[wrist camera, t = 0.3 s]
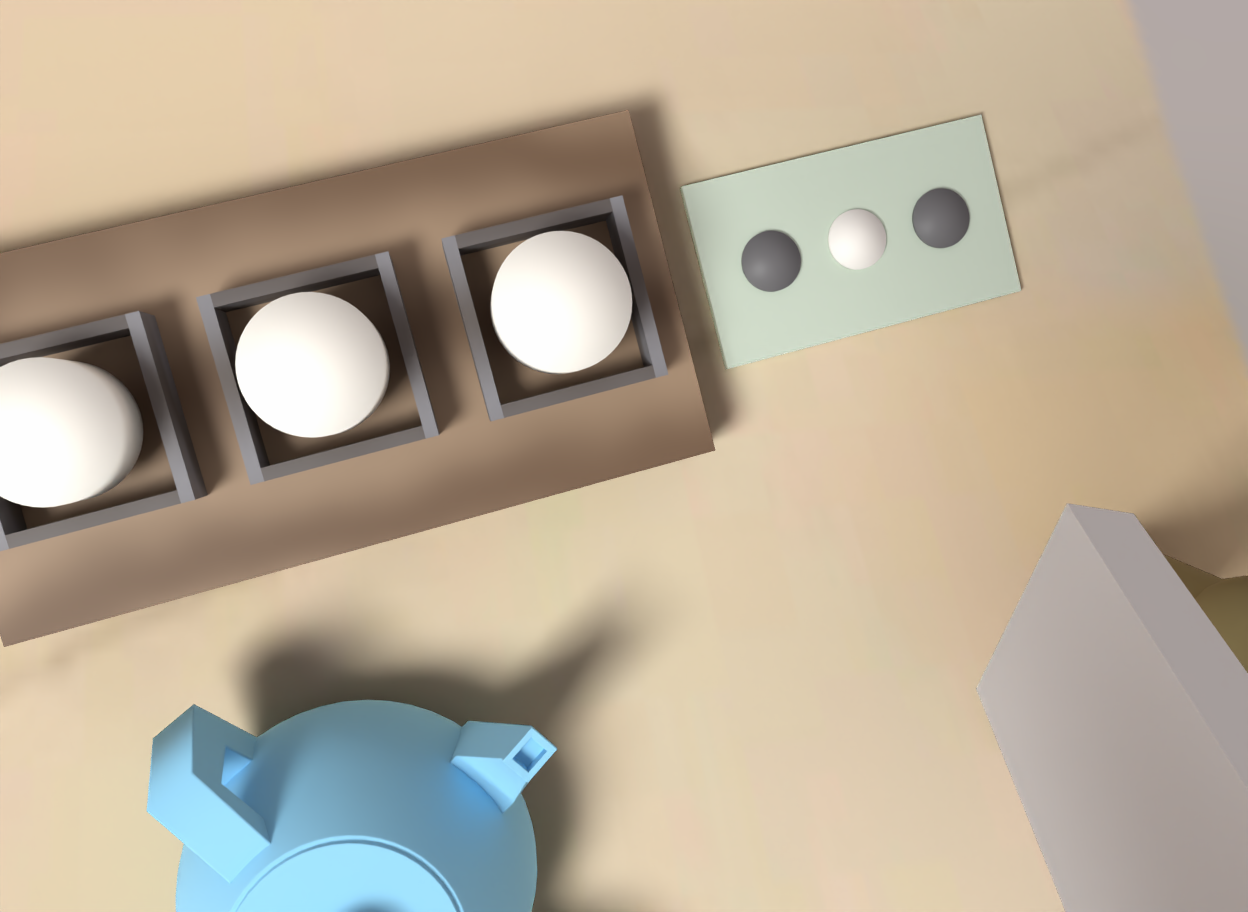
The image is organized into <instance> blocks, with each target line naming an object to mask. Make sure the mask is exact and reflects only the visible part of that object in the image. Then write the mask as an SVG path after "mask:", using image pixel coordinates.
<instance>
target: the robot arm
mask: <svg viewBox="0 0 1248 912" xmlns="http://www.w3.org/2000/svg"><path fill="white" fill-rule="evenodd" d="M976 690H977V692H978V695H979V697H980V700H981V702H982V705H983V707H984V710H985V712H986V715H987V717H988V720H989V722H990V725H991V727H992V730H993V732H994V735H995V737H996V740H997V742H998V745H999V747H1000V750H1001V752H1002V755H1003V757H1004V760H1005V762H1006V765H1007V767H1008V770H1009V772H1010V775H1011V777H1012V780H1013V782H1014V785H1015V787H1016V790H1017V792H1018V794H1019V797H1020V799H1021V802H1022V804H1023V807H1024V809H1025V812H1026V814H1027V817H1028V819H1029V822H1030V824H1031V827H1032V829H1033V832H1034V834H1035V837H1036V839H1037V842H1038V844H1039V847H1040V849H1041V852H1042V854H1043V857H1044V859H1045V862H1046V864H1047V867H1048V869H1049V872H1050V874H1051V877H1052V879H1053V882H1054V884H1055V887H1056V889H1057V892H1058V894H1059V897H1060V899H1061V902H1062V904H1063V907H1064V909H1065V912H1248V673H1247V672H1246V670H1245V669H1244V667H1243V666H1242V665H1241V663H1240V662H1239V660H1238V659H1237V658H1236V656H1235V655H1234V653H1233V652H1232V651H1231V649H1230V648H1229V646H1228V645H1227V644H1226V642H1225V641H1224V639H1223V638H1222V637H1221V635H1220V634H1219V632H1218V631H1217V630H1216V628H1215V627H1214V625H1213V624H1212V623H1211V621H1210V620H1209V618H1208V617H1207V616H1206V614H1205V613H1204V611H1203V610H1202V609H1201V607H1200V606H1199V604H1198V603H1197V602H1196V600H1195V599H1194V597H1193V596H1192V595H1191V593H1190V592H1189V590H1188V589H1187V588H1186V586H1185V585H1184V583H1183V582H1182V581H1181V579H1180V578H1179V576H1178V575H1177V574H1176V572H1175V571H1174V569H1173V568H1172V567H1171V565H1170V564H1169V562H1168V561H1167V560H1166V558H1165V557H1164V555H1163V554H1162V553H1161V551H1160V550H1159V548H1158V547H1157V546H1156V544H1155V543H1154V541H1153V540H1152V539H1151V537H1150V536H1149V534H1148V533H1147V532H1146V530H1145V529H1144V527H1143V526H1142V525H1141V523H1140V522H1139V520H1138V519H1137V518H1136V516H1135V515H1134V514H1132V513H1126V512H1120V511H1113V510H1107V509H1100V508H1094V507H1087V506H1081V505H1074V504H1068V503H1067V504H1066V506H1065V508H1064V510H1063V512H1062V514H1061V516H1060V519H1059V521H1058V523H1057V525H1056V527H1055V529H1054V531H1053V533H1052V535H1051V537H1050V539H1049V541H1048V543H1047V545H1046V547H1045V549H1044V551H1043V553H1042V555H1041V557H1040V559H1039V561H1038V563H1037V565H1036V567H1035V569H1034V572H1033V574H1032V576H1031V578H1030V580H1029V582H1028V584H1027V586H1026V588H1025V590H1024V592H1023V594H1022V596H1021V598H1020V600H1019V602H1018V604H1017V606H1016V608H1015V610H1014V612H1013V614H1012V616H1011V618H1010V620H1009V622H1008V625H1007V627H1006V629H1005V631H1004V633H1003V635H1002V637H1001V639H1000V641H999V643H998V645H997V647H996V649H995V651H994V653H993V655H992V657H991V659H990V661H989V663H988V665H987V667H986V669H985V671H984V673H983V675H982V678H981V680H980V682H979V684H978V686H977V688H976Z"/></svg>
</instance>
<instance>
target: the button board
mask: <svg viewBox="0 0 1248 912" xmlns="http://www.w3.org/2000/svg"><path fill="white" fill-rule="evenodd" d="M552 231H570V232H575V233H580V234H583V235H586V236H588V237H591V238H593V239H594V240H596V241H598V242H600V243H601V244H602V245H604V246H605V247H606V248H607V249H608V250H610V251H611V252H612V253H613V254H614V256H615V257H616V258H617V259H618V261H619V262H620V264H621V265H622V267H623V269H624V271H625V273H626V275H627V277H628V280H629V283H630V288H631V293H632V313H631V318H630V322H629V325H628V328H627V330H626V333H625V335H624V337H623V338H622V340H621V341H620V343H619V344H618V346H617V347H616V348H615V349H614V350H613V351H612V352H611V353H610V354H609V355H608V356H607V357H606V358H604V359H603V360H601V361H600V362H598V363H597V364H595V365H593V366H591V367H588V368H585V369H582V370H579V371H576V372H573V373H567V374H547V373H542V372H538V371H535V370H532V369H530V368H528V367H526V366H524V365H522V364H521V363H519V362H518V361H517V360H515V359H514V358H513V357H512V356H511V355H510V354H509V353H508V352H507V351H506V350H505V349H504V347H503V346H502V344H501V343H500V341H499V339H498V337H497V335H496V333H495V331H494V328H493V325H492V320H491V313H490V301H491V294H492V289H493V286H494V282H495V279H496V276H497V273H498V271H499V269H500V267H501V265H502V264H503V262H504V261H505V259H506V258H507V256H508V255H509V254H510V253H511V252H512V251H513V250H514V249H515V248H516V247H517V246H519V245H520V244H521V243H523V242H524V241H526V240H527V239H530V238H532V237H534V236H536V235H539V234H542V233H546V232H552ZM300 292H317V293H324V294H328V295H332V296H335V297H338V298H340V299H342V300H344V301H346V302H348V303H350V304H351V305H353V306H354V307H356V308H357V309H358V310H359V311H360V312H361V313H363V314H364V315H365V316H366V317H367V318H368V319H369V320H370V321H371V323H372V324H373V325H374V326H375V327H376V329H377V330H378V332H379V333H380V334H381V336H382V338H383V340H384V342H385V345H386V348H387V351H388V356H389V362H390V376H389V382H388V386H387V389H386V392H385V395H384V397H383V399H382V401H381V403H380V404H379V406H378V407H377V409H376V410H375V411H374V412H373V413H372V414H371V416H370V417H368V418H367V419H366V420H365V421H364V422H362V423H361V424H359V425H358V426H356V427H354V428H352V429H350V430H348V431H345V432H342V433H339V434H334V435H329V436H324V437H312V438H311V437H300V436H295V435H291V434H288V433H284V432H282V431H280V430H278V429H276V428H274V427H272V426H271V425H269V424H267V423H266V422H265V421H263V420H262V419H261V418H260V417H259V416H258V415H257V414H256V413H255V412H254V411H253V410H252V409H251V407H250V406H249V405H248V403H247V402H246V400H245V398H244V396H243V394H242V392H241V390H240V387H239V384H238V380H237V376H236V366H235V361H236V351H237V346H238V343H239V340H240V337H241V335H242V333H243V331H244V329H245V327H246V326H247V324H248V323H249V321H250V320H251V319H252V318H253V316H254V315H255V314H256V313H257V312H258V311H259V310H261V309H262V308H263V307H264V306H266V305H267V304H269V303H270V302H272V301H274V300H276V299H278V298H280V297H283V296H286V295H290V294H294V293H300ZM36 357H44V358H55V359H63V360H71V361H78V362H83V363H88V364H91V365H94V366H97V367H99V368H101V369H103V370H105V371H107V372H109V373H110V374H112V375H113V376H115V377H116V378H117V379H118V380H119V381H121V382H122V383H123V384H124V386H125V387H126V388H127V389H128V390H129V392H130V393H131V394H132V396H133V397H134V399H135V401H136V403H137V405H138V408H139V410H140V413H141V417H142V422H143V442H142V447H141V451H140V454H139V457H138V459H137V461H136V463H135V465H134V467H133V468H132V470H131V471H130V472H129V474H128V475H127V476H126V477H125V478H124V479H123V480H122V481H121V482H120V483H119V484H118V485H116V486H115V487H114V488H112V489H111V490H109V491H107V492H105V493H103V494H101V495H99V496H96V497H93V498H90V499H86V500H82V501H78V502H73V503H69V504H65V505H60V506H55V507H31V506H25V505H21V504H17V503H14V502H11V501H9V500H7V499H5V498H3V497H1V496H0V636H1V639H2V642H3V645H4V647H6V646H9V645H13V644H17V643H20V642H24V641H27V640H31V639H35V638H38V637H42V636H45V635H49V634H53V633H56V632H60V631H64V630H67V629H71V628H74V627H78V626H82V625H85V624H89V623H92V622H96V621H100V620H103V619H107V618H111V617H114V616H118V615H121V614H125V613H129V612H132V611H136V610H140V609H143V608H147V607H150V606H154V605H158V604H161V603H165V602H168V601H172V600H176V599H179V598H183V597H187V596H190V595H194V594H197V593H201V592H205V591H208V590H212V589H215V588H219V587H223V586H226V585H230V584H234V583H237V582H241V581H244V580H248V579H252V578H255V577H259V576H262V575H266V574H270V573H273V572H277V571H281V570H284V569H288V568H291V567H295V566H299V565H302V564H306V563H310V562H313V561H317V560H320V559H324V558H328V557H331V556H335V555H338V554H342V553H346V552H349V551H353V550H357V549H360V548H364V547H367V546H371V545H375V544H378V543H382V542H385V541H389V540H393V539H396V538H400V537H404V536H407V535H411V534H414V533H418V532H422V531H425V530H429V529H432V528H436V527H440V526H443V525H447V524H451V523H454V522H458V521H461V520H465V519H469V518H472V517H476V516H480V515H483V514H487V513H490V512H494V511H498V510H501V509H505V508H508V507H512V506H516V505H519V504H523V503H527V502H530V501H534V500H537V499H541V498H545V497H548V496H552V495H555V494H559V493H563V492H566V491H570V490H574V489H577V488H581V487H584V486H588V485H592V484H595V483H599V482H602V481H606V480H610V479H613V478H617V477H621V476H624V475H628V474H631V473H635V472H639V471H642V470H646V469H650V468H653V467H657V466H660V465H664V464H668V463H671V462H675V461H678V460H682V459H686V458H689V457H693V456H697V455H700V454H704V453H707V452H711V451H715V447H714V443H713V439H712V435H711V431H710V427H709V424H708V420H707V416H706V412H705V408H704V404H703V400H702V396H701V392H700V388H699V384H698V380H697V376H696V372H695V369H694V365H693V361H692V357H691V353H690V349H689V345H688V341H687V337H686V333H685V329H684V325H683V321H682V318H681V314H680V310H679V306H678V302H677V298H676V294H675V290H674V286H673V282H672V278H671V274H670V270H669V267H668V263H667V259H666V255H665V251H664V247H663V243H662V239H661V235H660V231H659V227H658V223H657V219H656V216H655V212H654V208H653V204H652V200H651V196H650V192H649V188H648V184H647V180H646V176H645V172H644V168H643V165H642V161H641V157H640V153H639V149H638V145H637V141H636V137H635V133H634V129H633V125H632V121H631V117H630V114H629V110H626V111H621V112H617V113H612V114H608V115H604V116H599V117H595V118H590V119H586V120H582V121H577V122H573V123H568V124H564V125H560V126H555V127H551V128H547V129H542V130H538V131H533V132H529V133H525V134H520V135H516V136H511V137H507V138H503V139H498V140H494V141H490V142H485V143H481V144H476V145H472V146H468V147H463V148H459V149H454V150H450V151H446V152H441V153H437V154H433V155H428V156H424V157H419V158H415V159H411V160H406V161H402V162H397V163H393V164H389V165H384V166H380V167H375V168H371V169H367V170H362V171H358V172H354V173H349V174H345V175H340V176H336V177H332V178H327V179H323V180H318V181H314V182H310V183H305V184H301V185H297V186H292V187H288V188H283V189H279V190H275V191H270V192H266V193H261V194H257V195H253V196H248V197H244V198H240V199H235V200H231V201H226V202H222V203H218V204H213V205H209V206H204V207H200V208H196V209H191V210H187V211H183V212H178V213H174V214H169V215H165V216H161V217H156V218H152V219H147V220H143V221H139V222H134V223H130V224H125V225H121V226H117V227H112V228H108V229H104V230H99V231H95V232H90V233H86V234H82V235H77V236H73V237H68V238H64V239H60V240H55V241H51V242H47V243H42V244H38V245H33V246H29V247H25V248H20V249H16V250H11V251H7V252H3V253H0V367H1V366H4V365H6V364H8V363H10V362H14V361H17V360H20V359H26V358H36Z"/></svg>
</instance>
